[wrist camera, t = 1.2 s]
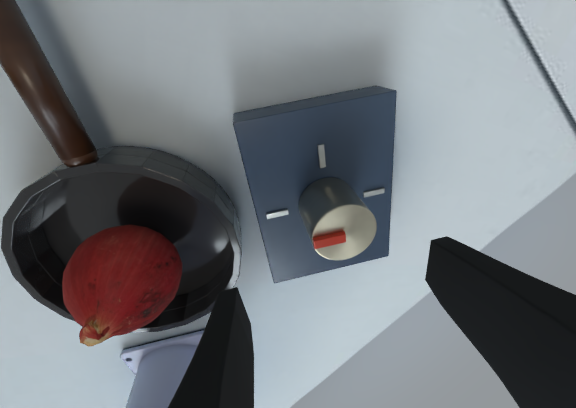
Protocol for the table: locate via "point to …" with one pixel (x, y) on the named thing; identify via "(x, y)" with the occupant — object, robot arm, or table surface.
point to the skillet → (126, 211)
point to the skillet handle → (41, 88)
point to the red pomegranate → (120, 281)
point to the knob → (336, 219)
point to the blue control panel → (317, 169)
